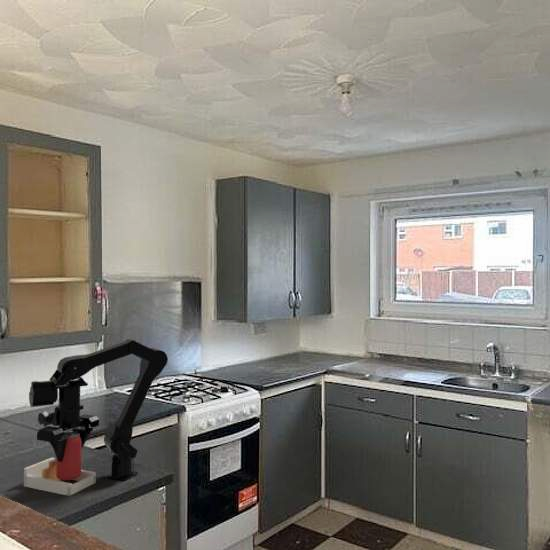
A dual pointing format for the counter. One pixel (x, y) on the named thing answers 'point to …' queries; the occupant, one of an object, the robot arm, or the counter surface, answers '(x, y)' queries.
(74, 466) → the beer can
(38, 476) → the white tray
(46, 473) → the pusher
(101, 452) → the counter surface
